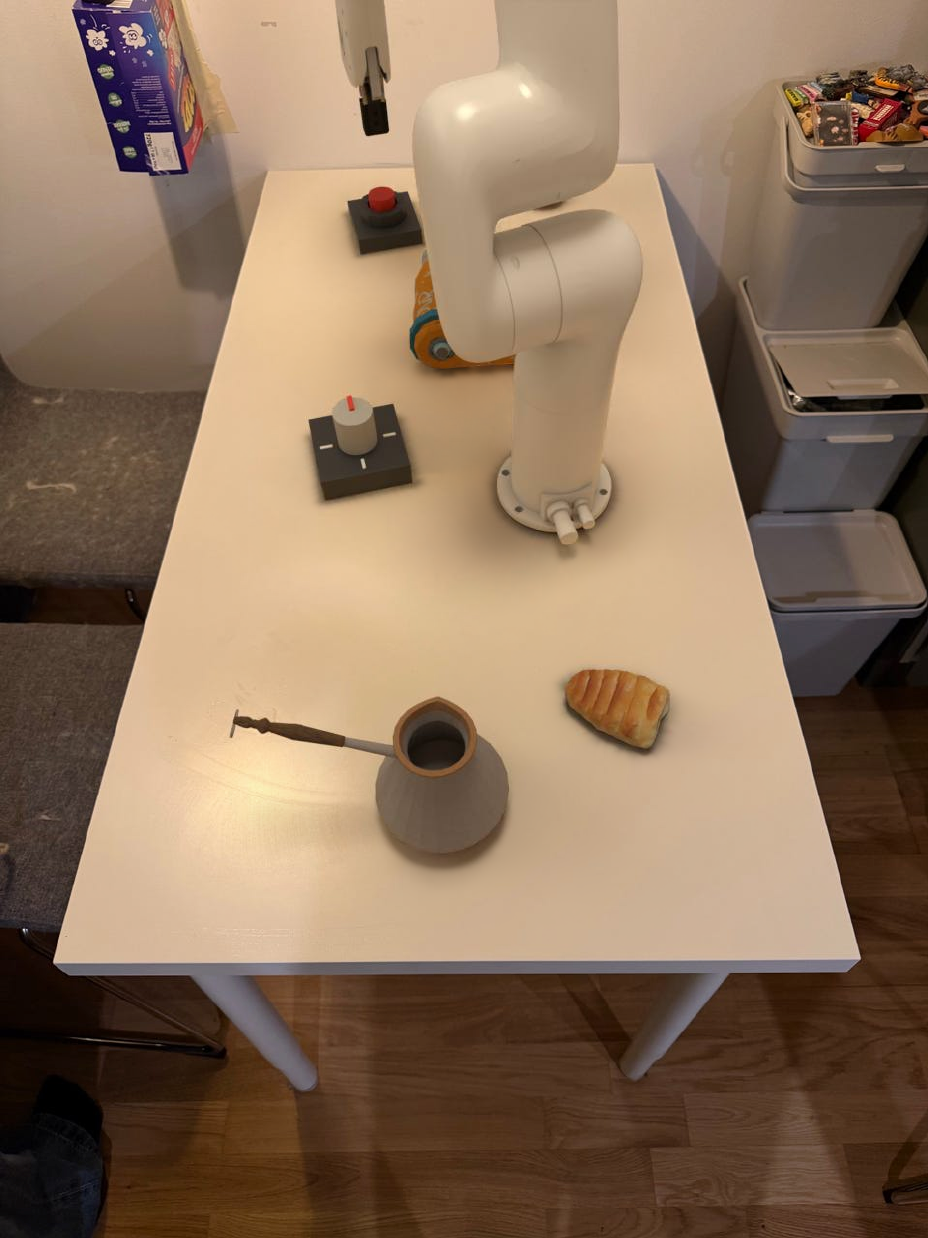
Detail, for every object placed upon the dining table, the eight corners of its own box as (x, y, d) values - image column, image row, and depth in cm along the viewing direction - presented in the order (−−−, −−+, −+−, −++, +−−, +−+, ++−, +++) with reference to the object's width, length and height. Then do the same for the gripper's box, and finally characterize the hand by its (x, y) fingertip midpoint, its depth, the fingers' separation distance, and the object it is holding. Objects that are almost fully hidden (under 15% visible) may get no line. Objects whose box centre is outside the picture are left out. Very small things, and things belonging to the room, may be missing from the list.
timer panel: (412, 483, 95) (410, 463, 92) (325, 500, 94) (320, 481, 91) (395, 422, 100) (393, 402, 97) (312, 438, 99) (307, 418, 96)
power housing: (422, 243, 119) (420, 217, 116) (360, 254, 118) (356, 227, 115) (409, 205, 124) (406, 178, 121) (349, 214, 124) (345, 188, 120)
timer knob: (380, 451, 93) (375, 419, 89) (341, 458, 93) (334, 426, 89) (374, 423, 96) (368, 391, 92) (335, 431, 95) (328, 398, 91)
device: (401, 213, 109) (630, 197, 109) (406, 270, 116) (622, 255, 116) (406, 326, 97) (665, 307, 97) (412, 382, 104) (653, 364, 104)
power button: (397, 210, 118) (396, 198, 116) (372, 214, 117) (370, 202, 116) (392, 196, 119) (391, 184, 118) (367, 200, 119) (366, 188, 118)
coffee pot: (510, 741, 77) (513, 659, 64) (506, 866, 71) (509, 802, 58) (281, 733, 78) (239, 650, 66) (258, 855, 72) (207, 790, 59)
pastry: (553, 720, 78) (556, 701, 75) (577, 662, 81) (581, 641, 78) (651, 756, 76) (658, 738, 73) (672, 695, 79) (680, 675, 76)
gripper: (313, -58, 98) (339, 109, 113) (332, -8, 89) (357, 165, 105) (377, -67, 98) (393, 100, 114) (401, -18, 90) (416, 155, 105)
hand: (376, 131), depth 109 cm, fingers closed
